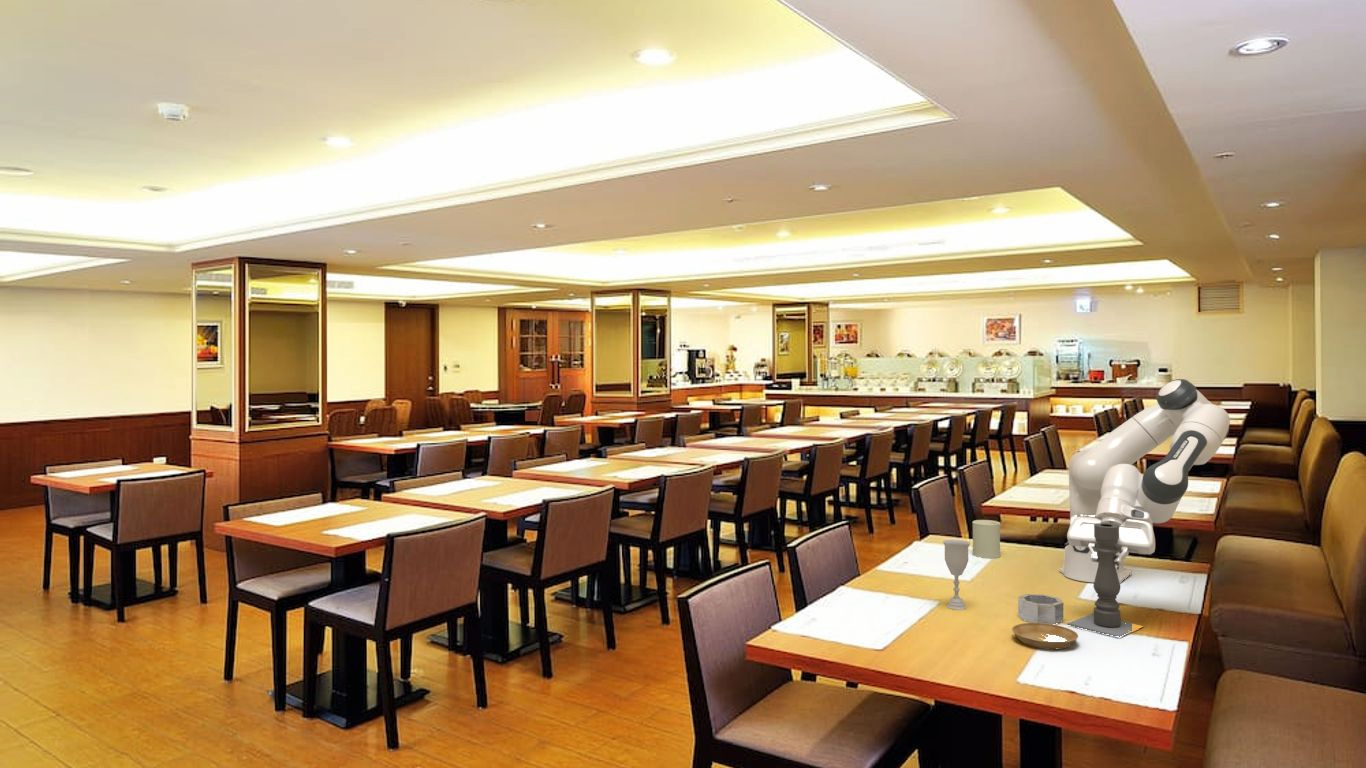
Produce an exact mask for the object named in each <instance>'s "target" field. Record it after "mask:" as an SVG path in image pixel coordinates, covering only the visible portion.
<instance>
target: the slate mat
mask: <svg viewBox="0 0 1366 768" xmlns="http://www.w3.org/2000/svg"><path fill="white" fill-rule="evenodd" d="M1125 623H1126V624H1125ZM1132 623H1133V622H1131V621H1130V622H1129V621H1127V620H1122V619H1121V625H1120V626H1118V627H1106V626H1101V625H1098V624H1095V623H1094V613H1090V614H1088V615H1085V616H1082V617H1080V618H1078V619H1075V620H1073V621H1070V622H1068V623H1067V624H1066V625H1071V626H1075V627H1079V628H1083V629H1087V630H1091V631H1096V632H1100V633H1104V634H1109V635H1113V636H1119V637H1120V636H1122V635H1124V634H1126V633H1128V632H1129V631H1132ZM1128 630H1129V631H1128Z"/></svg>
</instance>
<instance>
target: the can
mask: <svg viewBox="0 0 1366 768" xmlns="http://www.w3.org/2000/svg"><path fill="white" fill-rule="evenodd" d="M971 555H972V556H973V555H974V557H975V556H976V557H977V558H979V557H981V558H980V559H998V558H1000V557H1002V556H1001V522H999V521H998V520H990V519H976V520H973V521H972V553H971Z"/></svg>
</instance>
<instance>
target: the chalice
mask: <svg viewBox="0 0 1366 768" xmlns="http://www.w3.org/2000/svg"><path fill="white" fill-rule="evenodd" d="M942 543H943V545H944V561H945V563H946V566H947V568H948V571H949V573H950V574H951V575H952V576H954V577H953V578H954V581H953V582H952V583H953V585H954V587H953V589H952V590H953V592H954V594H953V597H951V598H950V599H949V601H948V604H947V605H946V607H947V608H948V609H951V610H958V611H961V610H966V609H967V606H966V604H965V602H964V600H963V598H961V597H960V596H959V591H961V589H960V588H959V584H960V581H959V577H960V576H962V575H963V573H964V572H965V569H966V568H967V565H968V563H969V546H970V544H971V541H968V540H963V539H953V538H952V539H944V540H942Z"/></svg>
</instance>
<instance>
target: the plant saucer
mask: <svg viewBox="0 0 1366 768" xmlns="http://www.w3.org/2000/svg"><path fill="white" fill-rule="evenodd" d="M1011 630H1012V632H1013V634H1014V635H1015V636H1016V638H1017V639H1018V640H1020V641H1021V642H1022V643H1023V644H1025V645H1028V646H1031V647H1033V648H1038V647H1039V648H1038V649H1044V648H1049V649H1048V650H1057V649H1056V648H1062V649H1066V648H1069V647H1070V646H1071V645H1073V643H1075V642H1076V640H1078V639H1079V634H1078V633H1077V632H1076V631H1075V630H1072V629H1071V628H1068V627H1065V626H1062V625H1058V624H1056V625H1053V624H1046V623H1031V622H1024V623H1019V624H1015V625H1013V626H1012V627H1011ZM1041 634H1042V635H1044V636H1046V637H1048V635H1046V634H1049V635H1056V636H1059V637H1062V638H1065V639H1066V640H1067V641H1065V642H1048V641H1043V640H1041V639H1039V638H1043V639H1046V638H1045V637H1044V636H1042V635H1041ZM1038 637H1039V638H1038ZM1065 647H1066V648H1065Z"/></svg>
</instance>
